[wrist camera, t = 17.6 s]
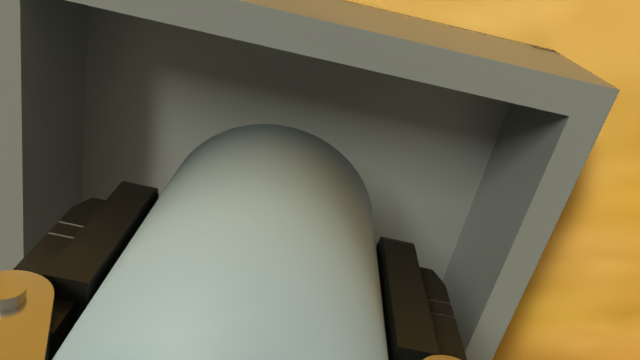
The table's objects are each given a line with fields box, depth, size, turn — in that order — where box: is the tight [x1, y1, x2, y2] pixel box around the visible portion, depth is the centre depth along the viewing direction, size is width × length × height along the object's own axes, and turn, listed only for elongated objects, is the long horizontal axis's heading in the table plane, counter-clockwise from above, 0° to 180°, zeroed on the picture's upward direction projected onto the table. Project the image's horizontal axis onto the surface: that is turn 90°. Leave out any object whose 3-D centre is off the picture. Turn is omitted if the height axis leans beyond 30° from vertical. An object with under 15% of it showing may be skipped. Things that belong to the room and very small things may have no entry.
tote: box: [0, 0, 619, 360], centre depth 17 cm, size 18×14×4 cm
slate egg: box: [52, 124, 389, 360], centre depth 10 cm, size 5×5×7 cm
